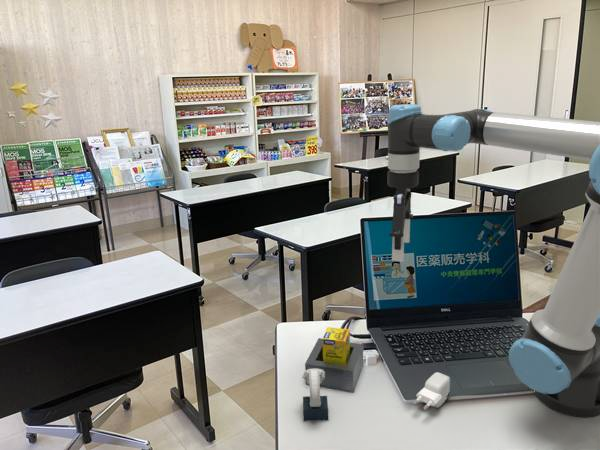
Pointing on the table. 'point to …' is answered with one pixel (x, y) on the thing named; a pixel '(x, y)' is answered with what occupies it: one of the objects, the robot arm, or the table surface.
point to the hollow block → (337, 368)
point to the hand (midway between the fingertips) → (401, 251)
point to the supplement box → (336, 346)
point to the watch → (314, 397)
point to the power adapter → (434, 391)
